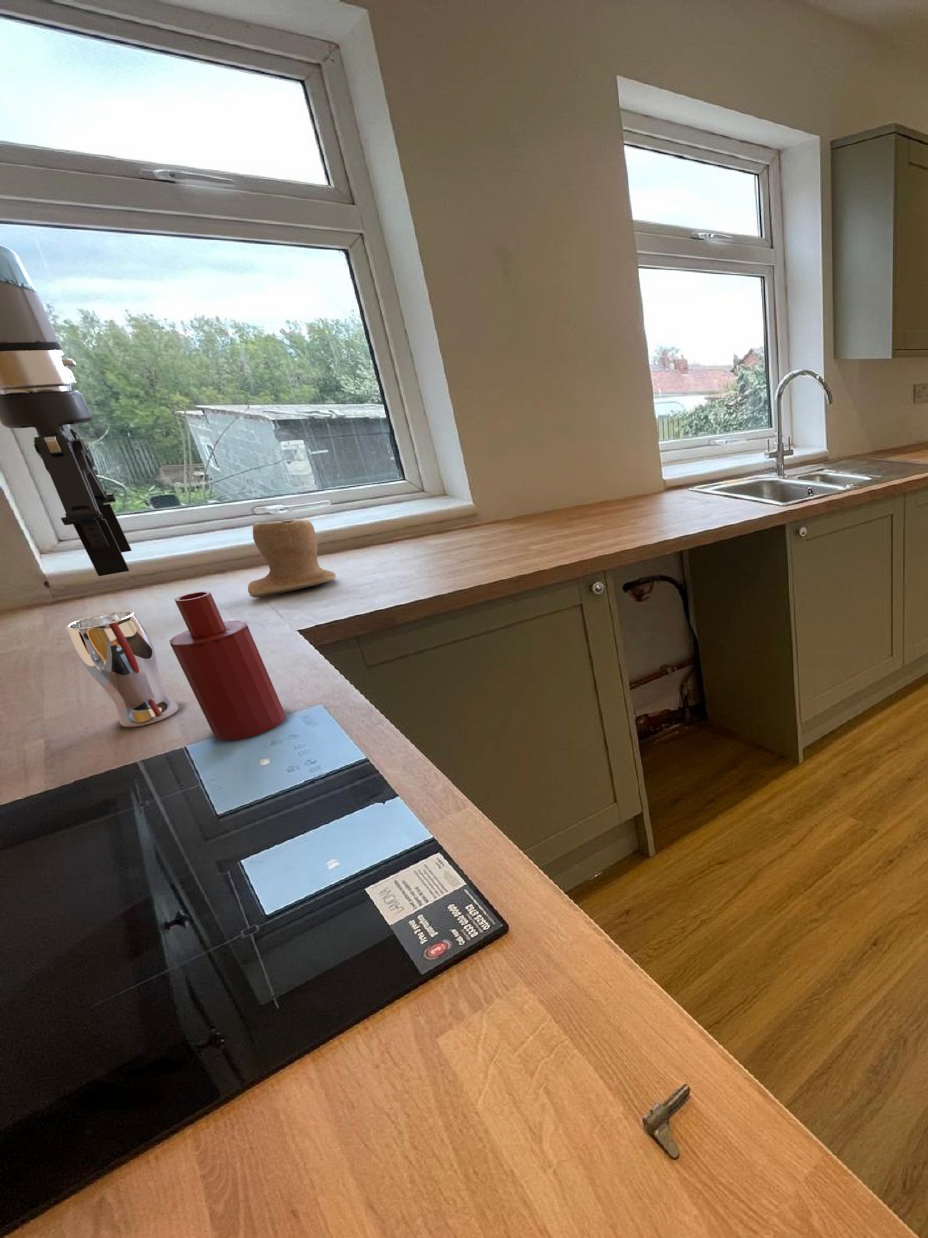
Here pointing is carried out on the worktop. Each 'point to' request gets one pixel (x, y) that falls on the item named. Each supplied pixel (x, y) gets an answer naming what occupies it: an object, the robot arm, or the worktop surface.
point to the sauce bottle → (225, 671)
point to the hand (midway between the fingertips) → (116, 562)
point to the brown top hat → (287, 557)
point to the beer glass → (123, 665)
